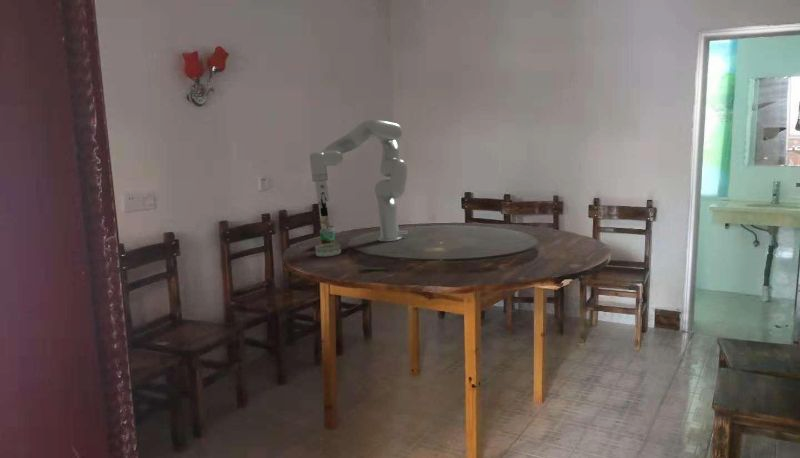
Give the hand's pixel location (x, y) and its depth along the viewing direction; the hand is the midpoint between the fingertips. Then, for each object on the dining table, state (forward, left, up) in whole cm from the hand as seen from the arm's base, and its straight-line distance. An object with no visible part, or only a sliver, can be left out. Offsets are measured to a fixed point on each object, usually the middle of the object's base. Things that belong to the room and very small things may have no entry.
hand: (323, 215), depth 305 cm
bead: (0, 0, -19) cm, 19 cm away
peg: (0, 0, -5) cm, 5 cm away
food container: (-4, -20, -19) cm, 28 cm away
